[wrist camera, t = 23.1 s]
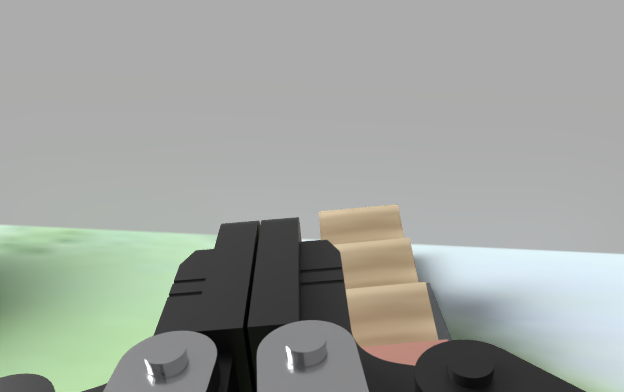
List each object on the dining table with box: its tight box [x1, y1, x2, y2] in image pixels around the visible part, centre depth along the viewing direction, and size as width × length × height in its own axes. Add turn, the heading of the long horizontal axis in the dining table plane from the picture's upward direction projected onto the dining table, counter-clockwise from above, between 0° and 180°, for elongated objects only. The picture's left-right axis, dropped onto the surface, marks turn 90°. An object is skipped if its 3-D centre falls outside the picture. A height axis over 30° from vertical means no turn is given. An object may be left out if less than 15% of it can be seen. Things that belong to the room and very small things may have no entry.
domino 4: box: [319, 204, 404, 245], centre depth 35 cm, size 2×5×10 cm
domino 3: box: [334, 238, 419, 289], centre depth 30 cm, size 2×5×10 cm
